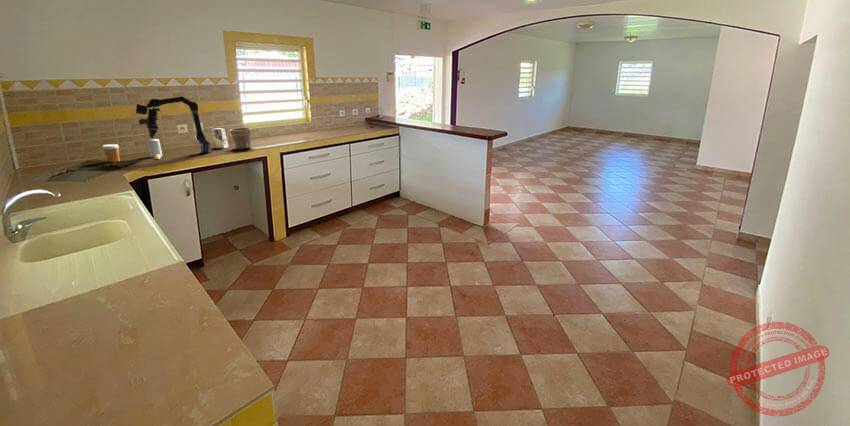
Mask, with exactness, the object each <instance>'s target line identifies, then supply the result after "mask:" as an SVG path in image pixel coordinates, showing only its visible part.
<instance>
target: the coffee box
mask: <svg viewBox="0 0 850 426" xmlns="http://www.w3.org/2000/svg"><path fill="white" fill-rule="evenodd" d="M211 134H212V139H213V145H214V149H227V148H229V143H228V142H229V141H228V137H227V132H226V128H224V127H223V128H220V127H219V128H217V127H216V128H211Z"/></svg>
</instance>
